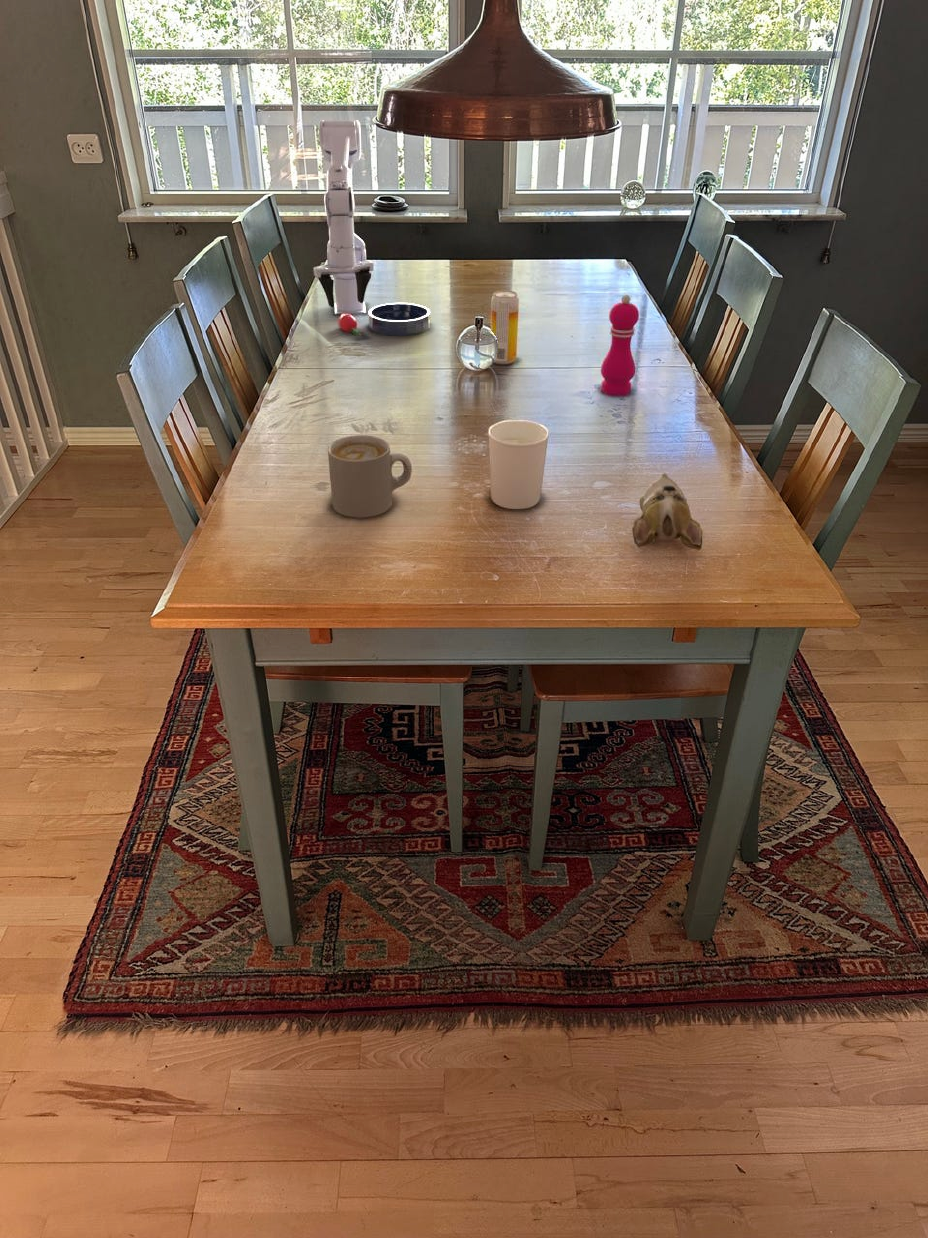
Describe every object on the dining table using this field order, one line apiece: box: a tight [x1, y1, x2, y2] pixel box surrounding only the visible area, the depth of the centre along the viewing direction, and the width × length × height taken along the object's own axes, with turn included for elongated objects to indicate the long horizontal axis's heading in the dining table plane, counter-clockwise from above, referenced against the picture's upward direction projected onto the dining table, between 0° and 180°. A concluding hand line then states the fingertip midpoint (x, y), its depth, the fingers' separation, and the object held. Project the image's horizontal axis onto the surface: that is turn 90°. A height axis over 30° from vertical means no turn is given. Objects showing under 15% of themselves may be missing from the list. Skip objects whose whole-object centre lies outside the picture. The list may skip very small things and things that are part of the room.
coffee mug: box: [327, 434, 413, 519], centre depth 146 cm, size 13×10×10 cm
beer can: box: [490, 289, 520, 365], centre depth 202 cm, size 6×6×15 cm
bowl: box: [368, 302, 431, 337], centre depth 224 cm, size 15×15×4 cm
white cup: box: [487, 419, 550, 510], centre depth 148 cm, size 10×10×12 cm
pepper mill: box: [600, 294, 640, 397], centre depth 186 cm, size 7×7×20 cm
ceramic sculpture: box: [631, 472, 703, 551], centre depth 139 cm, size 11×9×15 cm
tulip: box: [337, 313, 362, 338], centre depth 219 cm, size 11×4×4 cm, turn 27°
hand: (346, 303), depth 219 cm, fingers open, 7 cm apart
